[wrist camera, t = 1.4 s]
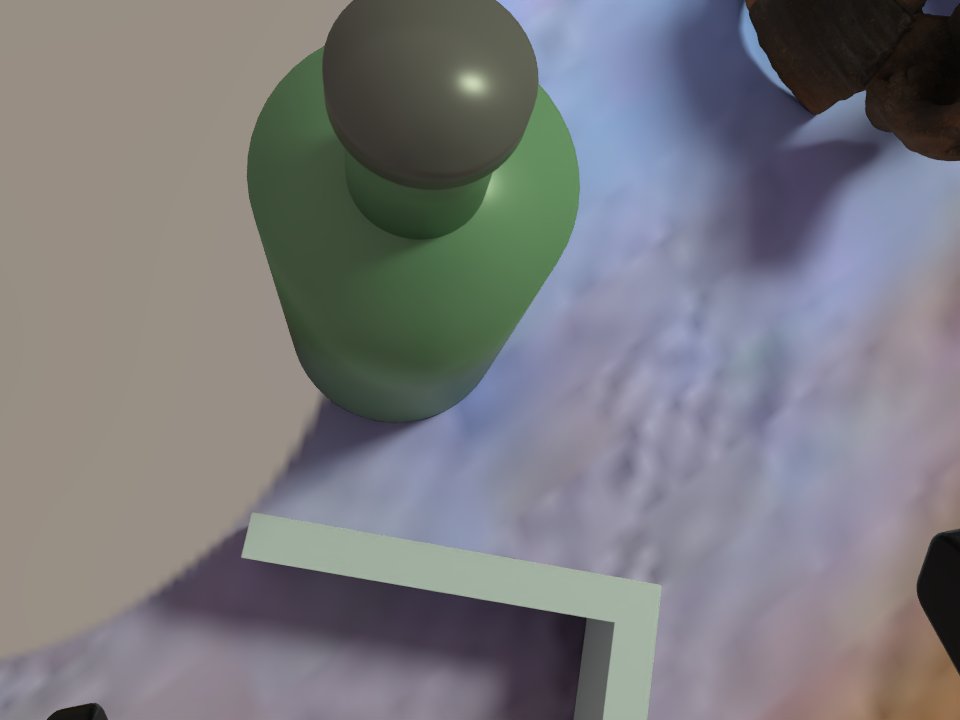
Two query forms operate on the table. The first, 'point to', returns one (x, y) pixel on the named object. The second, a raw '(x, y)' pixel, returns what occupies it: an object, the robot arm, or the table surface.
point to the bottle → (411, 200)
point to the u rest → (495, 597)
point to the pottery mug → (871, 63)
